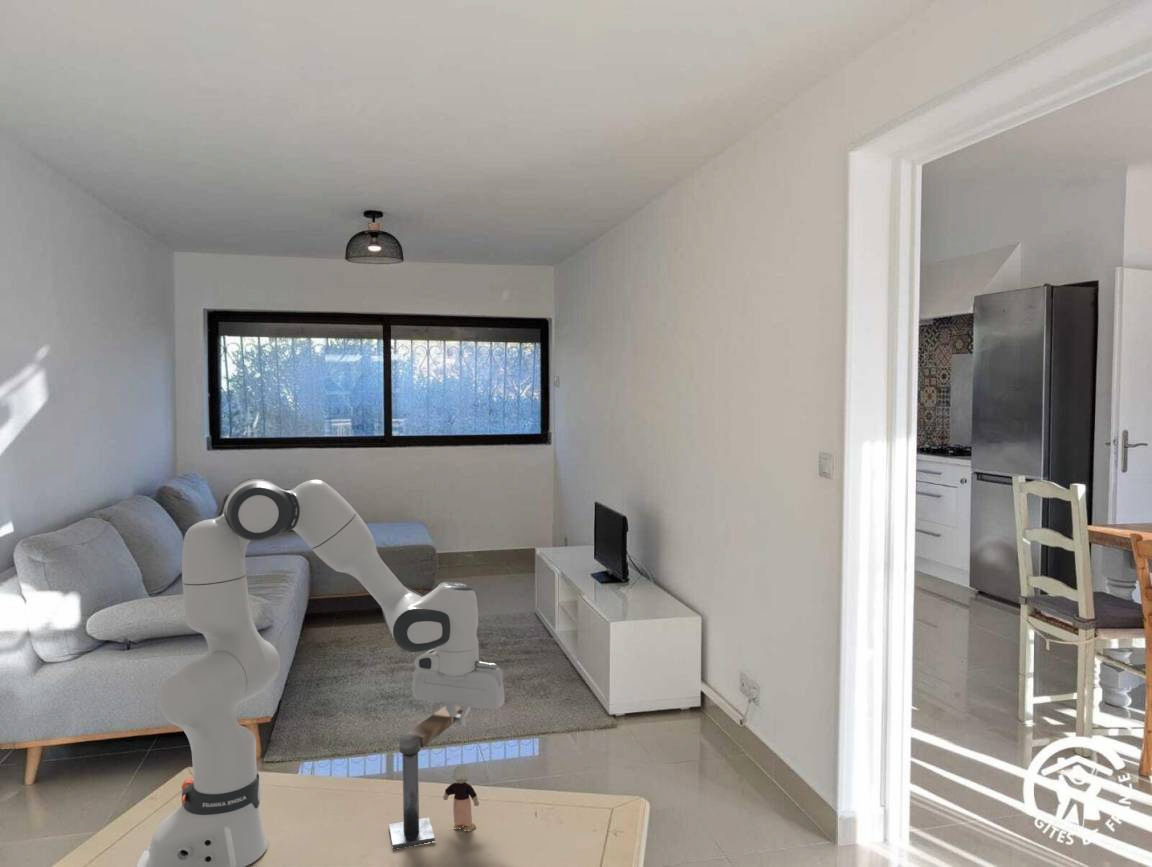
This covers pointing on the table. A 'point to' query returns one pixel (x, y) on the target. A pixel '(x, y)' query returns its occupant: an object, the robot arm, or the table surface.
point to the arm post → (411, 810)
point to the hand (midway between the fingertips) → (458, 724)
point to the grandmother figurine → (462, 798)
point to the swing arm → (426, 731)
